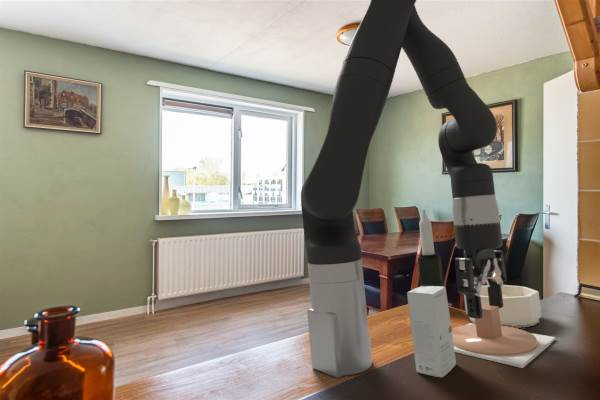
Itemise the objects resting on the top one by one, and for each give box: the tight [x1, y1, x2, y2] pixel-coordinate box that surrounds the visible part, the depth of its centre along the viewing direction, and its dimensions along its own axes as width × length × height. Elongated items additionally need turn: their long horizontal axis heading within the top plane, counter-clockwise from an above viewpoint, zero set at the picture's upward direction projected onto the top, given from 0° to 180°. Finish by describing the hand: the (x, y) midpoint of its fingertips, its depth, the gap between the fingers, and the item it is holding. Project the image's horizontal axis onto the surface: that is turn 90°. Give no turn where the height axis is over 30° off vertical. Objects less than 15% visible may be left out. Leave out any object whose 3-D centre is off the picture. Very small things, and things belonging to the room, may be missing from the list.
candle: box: [417, 208, 445, 287], centre depth 90 cm, size 5×5×25 cm
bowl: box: [463, 284, 543, 326], centre depth 75 cm, size 13×13×6 cm
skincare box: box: [406, 286, 457, 378], centre depth 55 cm, size 6×4×12 cm
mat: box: [454, 322, 556, 369], centre depth 62 cm, size 15×15×1 cm
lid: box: [451, 304, 537, 355], centre depth 62 cm, size 14×14×6 cm
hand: (486, 312), depth 63 cm, fingers open, 8 cm apart
